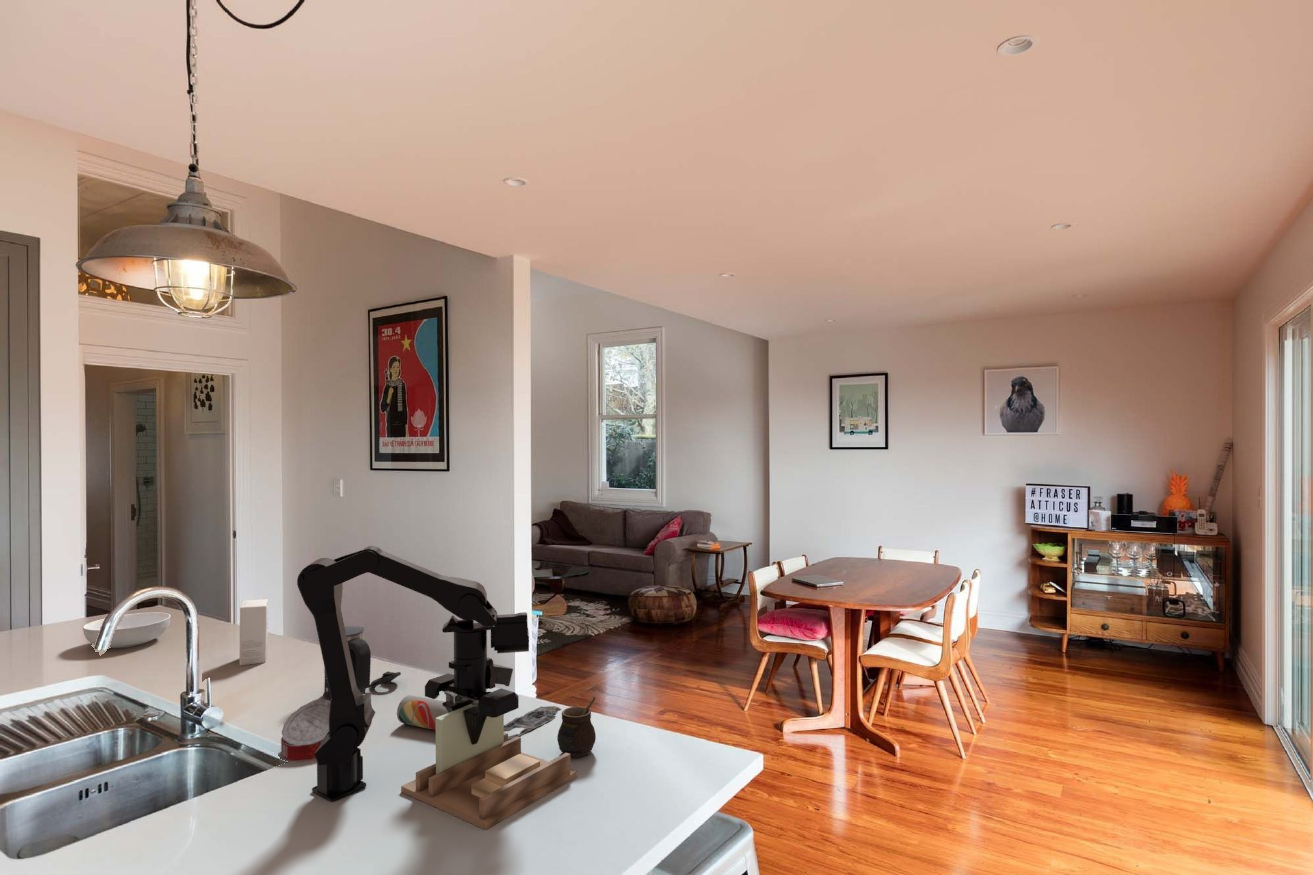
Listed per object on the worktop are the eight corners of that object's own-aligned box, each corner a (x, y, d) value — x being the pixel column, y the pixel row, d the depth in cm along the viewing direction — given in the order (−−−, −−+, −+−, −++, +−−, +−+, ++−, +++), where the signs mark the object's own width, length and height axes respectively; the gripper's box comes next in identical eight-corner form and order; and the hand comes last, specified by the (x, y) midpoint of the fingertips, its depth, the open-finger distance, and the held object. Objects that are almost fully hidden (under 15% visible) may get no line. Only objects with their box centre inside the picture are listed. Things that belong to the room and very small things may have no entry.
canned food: (339, 768, 144) (357, 727, 142) (289, 783, 136) (307, 739, 134) (312, 729, 150) (329, 689, 148) (263, 741, 142) (281, 699, 140)
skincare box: (241, 657, 201) (241, 600, 200) (269, 654, 203) (268, 598, 203) (239, 666, 193) (238, 607, 193) (267, 662, 196) (266, 604, 196)
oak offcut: (505, 787, 121) (505, 778, 121) (485, 779, 124) (485, 770, 124) (540, 769, 127) (540, 760, 127) (519, 762, 130) (519, 753, 130)
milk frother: (313, 697, 170) (312, 633, 170) (361, 676, 185) (361, 617, 185) (363, 705, 165) (363, 639, 165) (408, 682, 180) (408, 621, 180)
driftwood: (547, 708, 164) (547, 698, 164) (570, 714, 160) (570, 704, 160) (478, 742, 147) (478, 731, 146) (502, 750, 143) (502, 739, 143)
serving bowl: (166, 630, 229) (166, 608, 229) (175, 644, 213) (175, 621, 213) (81, 642, 216) (81, 619, 216) (84, 659, 200) (84, 634, 200)
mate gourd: (549, 752, 140) (549, 699, 140) (582, 741, 145) (582, 690, 145) (570, 765, 135) (570, 710, 134) (604, 753, 139) (603, 700, 139)
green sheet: (442, 784, 124) (441, 719, 124) (435, 782, 125) (435, 717, 125) (503, 754, 135) (503, 695, 135) (497, 752, 136) (497, 693, 136)
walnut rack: (485, 829, 113) (485, 803, 113) (401, 791, 125) (401, 768, 125) (576, 776, 130) (576, 754, 130) (494, 747, 142) (494, 727, 142)
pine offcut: (496, 804, 119) (496, 794, 119) (471, 793, 122) (471, 784, 122) (544, 777, 128) (544, 768, 127) (519, 768, 131) (519, 760, 131)
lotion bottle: (392, 720, 151) (473, 736, 144) (402, 692, 154) (481, 706, 146) (409, 725, 156) (488, 741, 148) (418, 697, 158) (496, 711, 151)
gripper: (540, 652, 131) (541, 739, 131) (470, 636, 142) (471, 716, 142) (493, 668, 122) (494, 762, 122) (422, 650, 133) (423, 736, 133)
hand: (471, 742), depth 130 cm, fingers closed on green sheet, 2 cm apart
